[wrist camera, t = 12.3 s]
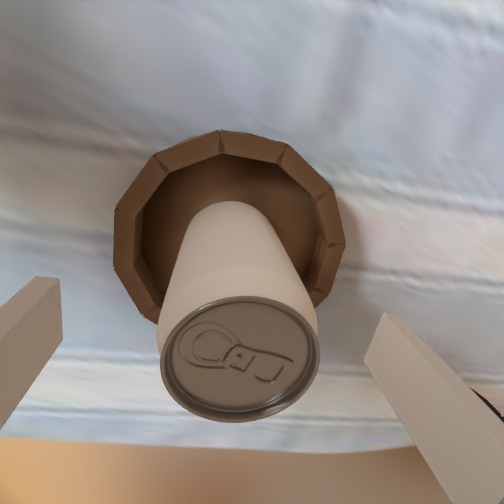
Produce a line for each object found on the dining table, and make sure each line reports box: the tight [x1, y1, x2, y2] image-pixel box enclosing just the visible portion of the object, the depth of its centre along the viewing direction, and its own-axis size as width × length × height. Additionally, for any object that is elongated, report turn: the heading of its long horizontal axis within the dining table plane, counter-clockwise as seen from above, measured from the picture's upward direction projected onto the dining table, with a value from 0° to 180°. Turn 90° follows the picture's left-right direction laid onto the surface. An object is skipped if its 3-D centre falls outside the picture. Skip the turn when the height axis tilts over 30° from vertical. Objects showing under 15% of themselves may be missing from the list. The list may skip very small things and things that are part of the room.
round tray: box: [113, 130, 346, 325], centre depth 21 cm, size 15×15×3 cm
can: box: [157, 201, 320, 423], centre depth 16 cm, size 6×6×12 cm
